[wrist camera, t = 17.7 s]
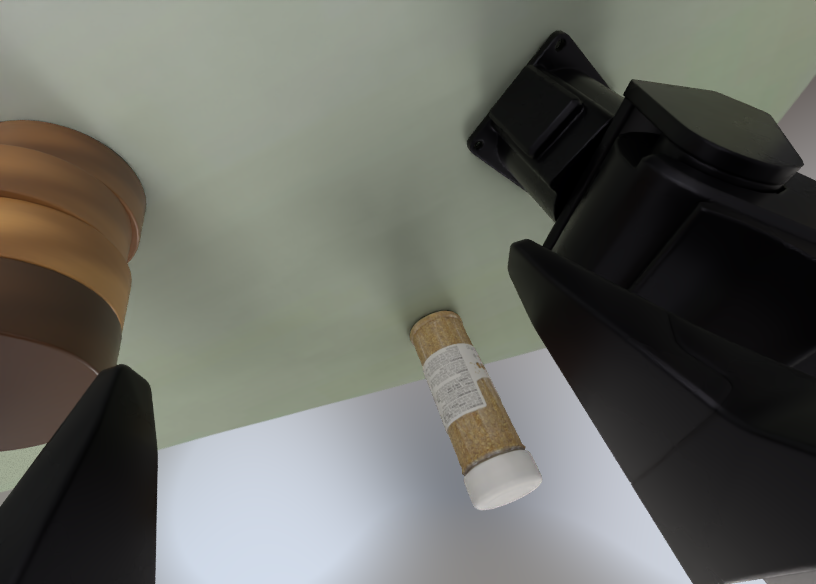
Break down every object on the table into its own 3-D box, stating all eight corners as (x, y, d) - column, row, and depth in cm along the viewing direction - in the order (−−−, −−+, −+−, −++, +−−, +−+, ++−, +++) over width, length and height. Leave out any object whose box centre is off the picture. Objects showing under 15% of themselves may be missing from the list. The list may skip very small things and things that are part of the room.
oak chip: (152, 235, 14) (144, 285, 13) (109, 338, 17) (98, 390, 15) (-111, 159, 10) (-171, 216, 9) (-112, 308, 13) (-157, 372, 12)
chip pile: (166, 160, 17) (153, 232, 14) (126, 260, 20) (109, 339, 17) (-47, 75, 13) (-130, 148, 10) (-59, 215, 16) (-127, 306, 13)
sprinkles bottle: (465, 328, 34) (547, 488, 26) (417, 350, 35) (482, 517, 26) (452, 299, 31) (543, 474, 22) (399, 324, 31) (468, 507, 22)
